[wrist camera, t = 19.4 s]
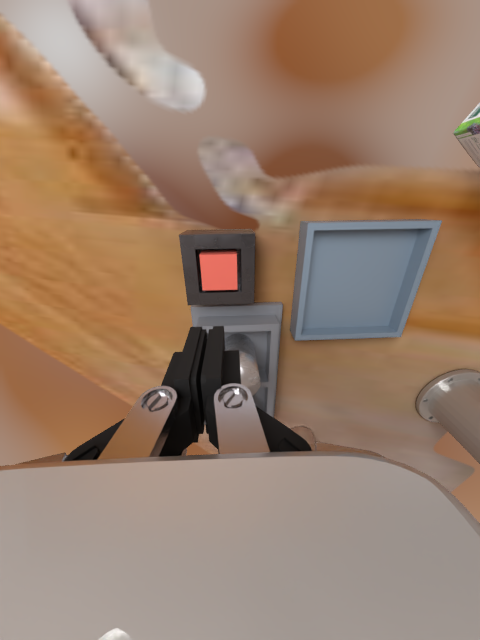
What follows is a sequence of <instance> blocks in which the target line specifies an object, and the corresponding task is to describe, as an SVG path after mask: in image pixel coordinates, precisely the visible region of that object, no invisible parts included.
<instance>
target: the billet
mask: <svg viewBox="0 0 480 640" xmlns="http://www.w3.org/2000/svg"><path fill="white" fill-rule="evenodd" d="M229 350H239V355H240V372H241V385H243V386H245V387H247V388H248V389H249V390H250V392H251V394H252V395H254V394H255V393H256V392H257V391H258V390H259V388H260V384H261V382H260V376H259V371H258V365H257V360H256V355H255V349H254V344H253V341H252V340H251V339H250V338H249V337H248V336H246V335H244V334H233V335H230V336H228V337H227V338H226V339H225V351H229Z"/></svg>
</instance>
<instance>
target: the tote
mask: <svg viewBox="0 0 480 640" xmlns="http://www.w3.org/2000/svg"><path fill="white" fill-rule="evenodd" d="M441 222H442V221H440V220H426V219H408V220H350V221H301V223H300V233H299V243H298V254H297V264H296V274H295V284H294V294H293V304H292V315H291V325H290V331H291V333H292V336H293V338H294V340H295V341H296V340H325V339H355V338H384V337H401V335H402V332H403V329H404V326H405V323H406V321H407V318H408V315H409V312H410V309H411V307H412V304H413V301H414V298H415V295H416V293H417V290H418V287H419V284H420V281H421V278H422V276H423V273H424V270H425V267H426V264H427V262H428V259H429V256H430V253H431V250H432V247H433V245H434V242H435V239H436V236H437V233H438V231H439V228H440V225H441Z"/></svg>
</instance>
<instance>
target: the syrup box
mask: <svg viewBox="0 0 480 640" xmlns="http://www.w3.org/2000/svg"><path fill="white" fill-rule="evenodd" d="M454 135H455V136H456V138H457V139H458V141H459V142H460V143H461V145H462V146H463V147H464V149H465V150H466V151H467V153H468V154H469V155H470V157H471V158H472V159H473V160H474V162H475V163H476V164H477V166H478V167H480V103H479V104H478V105H477V106H476V108H475V109H474V110H473V111H472V112H471V113H470V114H469V115H468V117H467V118H466V119H465V120H464V121H463V122H462V123H461V125H460V126H459V127H458V128H457V129H456V130H455V131H454Z"/></svg>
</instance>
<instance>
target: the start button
mask: <svg viewBox="0 0 480 640" xmlns="http://www.w3.org/2000/svg"><path fill="white" fill-rule="evenodd" d="M199 256H200V267H201V278H202V289H203V290H237V252H236V249H228V250H202V252H201V253H200V255H199Z"/></svg>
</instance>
